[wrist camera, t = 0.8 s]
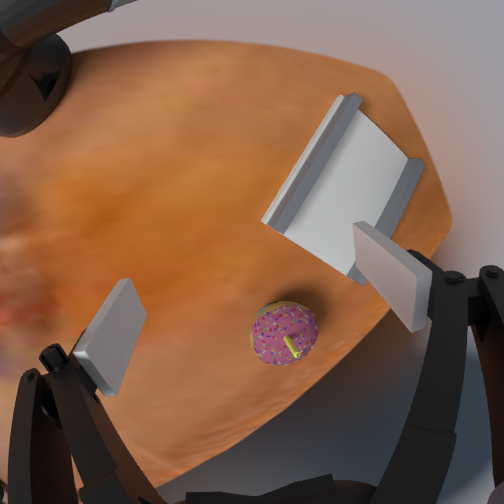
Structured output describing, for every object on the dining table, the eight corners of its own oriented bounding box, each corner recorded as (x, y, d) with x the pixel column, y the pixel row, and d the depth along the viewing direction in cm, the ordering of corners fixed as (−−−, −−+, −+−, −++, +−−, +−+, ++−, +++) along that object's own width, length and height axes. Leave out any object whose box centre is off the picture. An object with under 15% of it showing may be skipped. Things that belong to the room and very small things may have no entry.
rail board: (351, 279, 39) (365, 287, 36) (260, 221, 34) (269, 225, 31) (410, 167, 38) (427, 167, 34) (337, 96, 33) (351, 89, 29)
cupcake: (229, 318, 36) (250, 372, 25) (280, 275, 36) (321, 314, 25) (268, 356, 39) (297, 411, 27) (314, 318, 39) (358, 362, 28)
